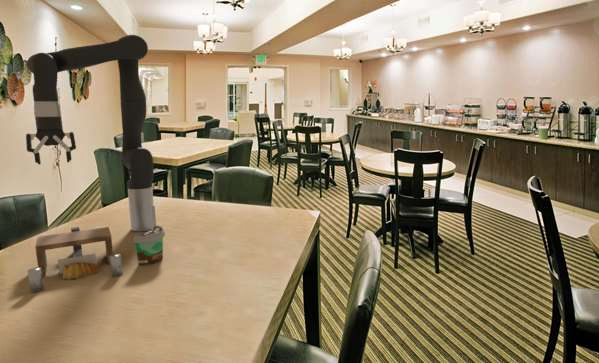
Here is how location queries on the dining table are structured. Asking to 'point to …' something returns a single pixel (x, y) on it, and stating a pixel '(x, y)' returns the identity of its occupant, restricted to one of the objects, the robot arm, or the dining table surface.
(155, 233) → the food container
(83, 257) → the scraper
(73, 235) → the low shelf
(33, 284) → the goal posts
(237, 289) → the dining table surface
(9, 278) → the dining table surface
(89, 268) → the pastry
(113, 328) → the dining table surface
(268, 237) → the dining table surface
